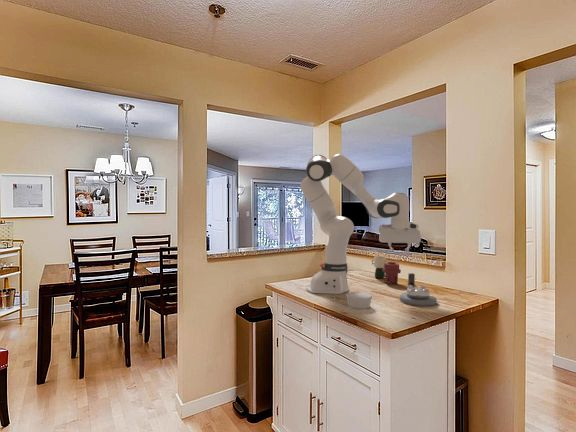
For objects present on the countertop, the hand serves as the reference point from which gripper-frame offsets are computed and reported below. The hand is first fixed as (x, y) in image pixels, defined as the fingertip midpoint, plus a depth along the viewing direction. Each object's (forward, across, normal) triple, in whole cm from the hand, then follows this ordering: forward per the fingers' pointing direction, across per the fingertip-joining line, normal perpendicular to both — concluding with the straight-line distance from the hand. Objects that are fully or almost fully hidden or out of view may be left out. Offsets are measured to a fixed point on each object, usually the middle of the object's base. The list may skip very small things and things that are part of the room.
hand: (399, 251), depth 173 cm
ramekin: (+22, -21, -28) cm, 41 cm away
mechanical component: (+22, -1, +22) cm, 30 cm away
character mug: (+22, -5, +36) cm, 42 cm away
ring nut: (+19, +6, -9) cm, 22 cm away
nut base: (+21, +6, -15) cm, 27 cm away
